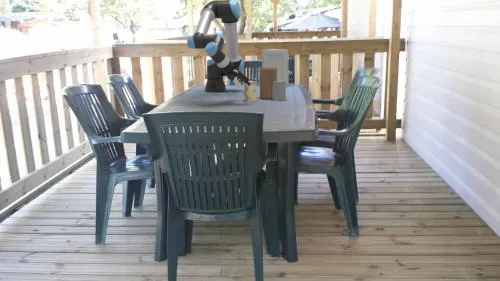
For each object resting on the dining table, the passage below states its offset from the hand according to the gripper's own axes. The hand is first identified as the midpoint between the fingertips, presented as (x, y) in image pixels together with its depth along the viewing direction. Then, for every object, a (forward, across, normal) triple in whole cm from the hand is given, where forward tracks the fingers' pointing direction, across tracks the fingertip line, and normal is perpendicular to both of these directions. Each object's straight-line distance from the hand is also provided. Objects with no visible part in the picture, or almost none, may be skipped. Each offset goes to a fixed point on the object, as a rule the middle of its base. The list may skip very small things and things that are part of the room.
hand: (246, 87), depth 284 cm
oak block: (+9, -1, -4) cm, 9 cm away
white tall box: (+46, -47, +34) cm, 74 cm away
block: (+20, -3, +8) cm, 22 cm away
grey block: (+21, +7, +8) cm, 23 cm away
